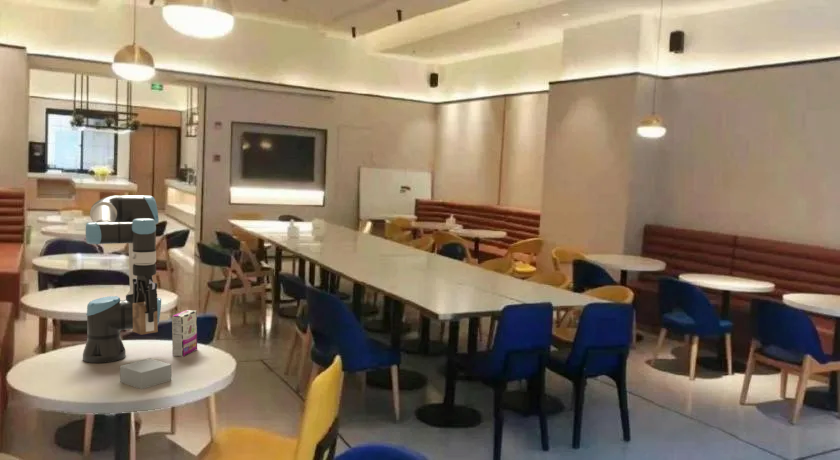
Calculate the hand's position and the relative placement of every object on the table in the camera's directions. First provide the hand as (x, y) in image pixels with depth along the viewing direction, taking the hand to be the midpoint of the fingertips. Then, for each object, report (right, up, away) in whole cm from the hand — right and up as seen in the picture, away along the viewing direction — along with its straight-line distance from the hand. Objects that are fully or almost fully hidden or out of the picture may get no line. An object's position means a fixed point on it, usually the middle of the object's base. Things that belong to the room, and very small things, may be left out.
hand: (145, 329), depth 240 cm
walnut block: (0, -1, 0) cm, 1 cm away
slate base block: (-1, -19, +2) cm, 19 cm away
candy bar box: (+1, -15, +37) cm, 40 cm away
